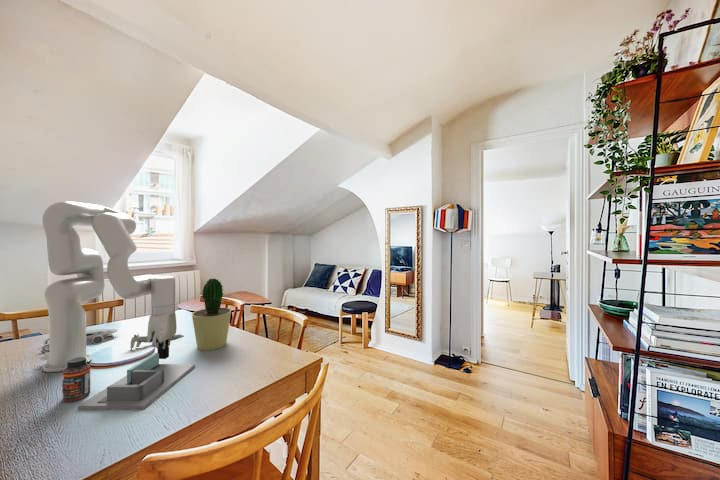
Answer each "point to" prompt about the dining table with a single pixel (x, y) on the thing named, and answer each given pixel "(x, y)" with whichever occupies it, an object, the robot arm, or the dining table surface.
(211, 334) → the potted cactus
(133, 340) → the caliper
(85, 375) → the supplement bottle
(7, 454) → the dining table surface
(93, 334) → the car model
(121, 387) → the housing
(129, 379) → the bar
